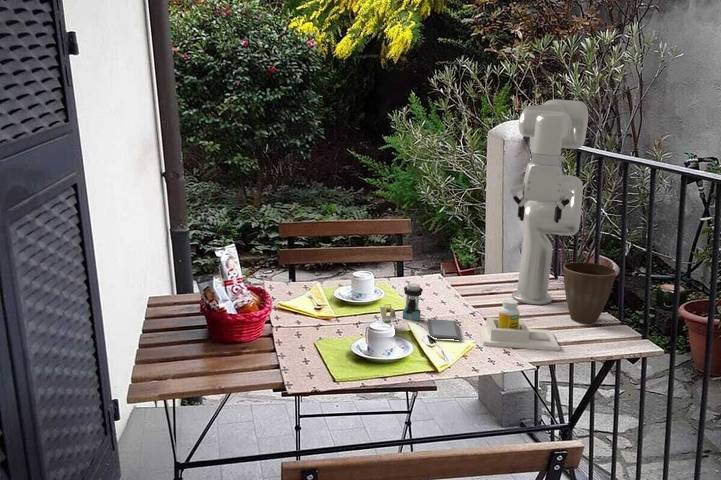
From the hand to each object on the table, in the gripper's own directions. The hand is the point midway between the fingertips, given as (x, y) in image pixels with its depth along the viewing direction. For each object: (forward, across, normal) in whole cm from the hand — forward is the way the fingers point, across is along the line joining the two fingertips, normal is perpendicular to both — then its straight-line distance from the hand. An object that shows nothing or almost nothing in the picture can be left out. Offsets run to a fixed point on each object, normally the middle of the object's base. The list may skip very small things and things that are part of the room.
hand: (538, 220), depth 205 cm
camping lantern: (+31, +33, +3) cm, 45 cm away
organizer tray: (+30, +5, +14) cm, 34 cm away
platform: (+31, +40, +13) cm, 52 cm away
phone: (+30, +25, +12) cm, 41 cm away
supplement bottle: (+29, +8, +14) cm, 33 cm away
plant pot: (+32, -18, -8) cm, 37 cm away
